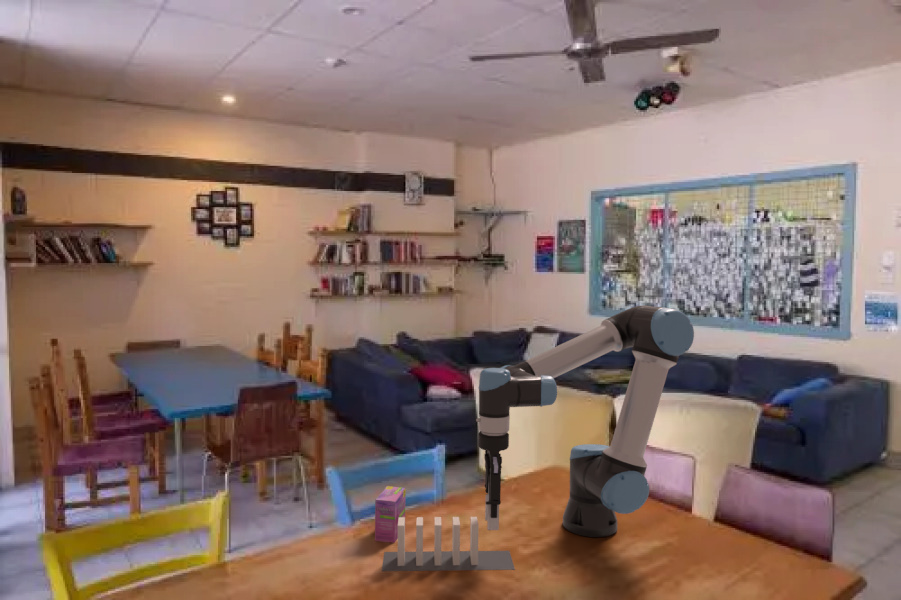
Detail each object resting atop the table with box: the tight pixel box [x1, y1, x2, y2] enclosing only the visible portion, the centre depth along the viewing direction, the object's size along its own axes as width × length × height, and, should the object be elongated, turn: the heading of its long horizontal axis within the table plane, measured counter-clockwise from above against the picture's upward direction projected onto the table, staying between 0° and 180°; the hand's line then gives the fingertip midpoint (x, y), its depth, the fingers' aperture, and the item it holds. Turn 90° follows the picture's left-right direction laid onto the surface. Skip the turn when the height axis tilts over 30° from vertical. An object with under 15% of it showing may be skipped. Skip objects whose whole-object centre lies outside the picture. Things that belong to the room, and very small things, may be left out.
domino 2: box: [415, 516, 424, 566], centre depth 156 cm, size 2×5×10 cm, turn 2°
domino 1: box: [397, 516, 406, 566], centre depth 156 cm, size 2×5×10 cm, turn 2°
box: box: [374, 485, 407, 543], centre depth 172 cm, size 10×6×12 cm, turn 168°
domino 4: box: [451, 516, 461, 565], centre depth 157 cm, size 2×5×10 cm, turn 2°
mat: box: [381, 550, 516, 572], centre depth 157 cm, size 32×10×1 cm, turn 92°
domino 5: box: [469, 516, 479, 565], centre depth 157 cm, size 2×5×10 cm, turn 2°
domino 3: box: [433, 516, 443, 565], centre depth 156 cm, size 2×5×10 cm, turn 2°
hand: (491, 524), depth 157 cm, fingers closed on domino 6, 5 cm apart
